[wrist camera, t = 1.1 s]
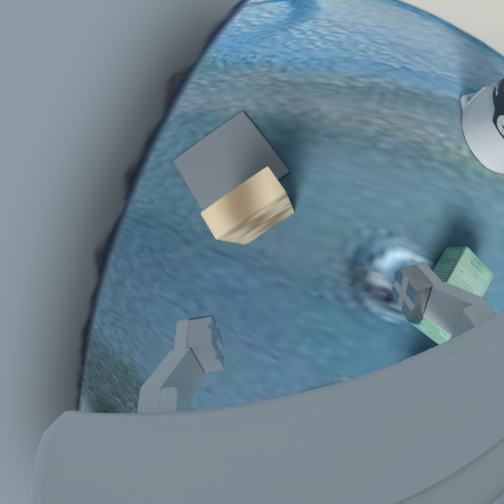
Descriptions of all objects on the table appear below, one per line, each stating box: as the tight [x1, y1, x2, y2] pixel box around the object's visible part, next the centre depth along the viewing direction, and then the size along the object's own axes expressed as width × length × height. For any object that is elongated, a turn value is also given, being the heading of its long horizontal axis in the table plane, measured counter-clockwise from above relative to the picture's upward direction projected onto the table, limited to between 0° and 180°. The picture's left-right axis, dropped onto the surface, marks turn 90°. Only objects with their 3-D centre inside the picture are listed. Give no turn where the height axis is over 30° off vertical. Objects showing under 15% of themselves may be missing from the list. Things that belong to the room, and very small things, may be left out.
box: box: [406, 246, 494, 344], centre depth 34 cm, size 7×14×8 cm, turn 145°
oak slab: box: [201, 166, 294, 245], centre depth 37 cm, size 9×4×14 cm, turn 123°
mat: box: [174, 111, 290, 211], centre depth 45 cm, size 15×14×1 cm
